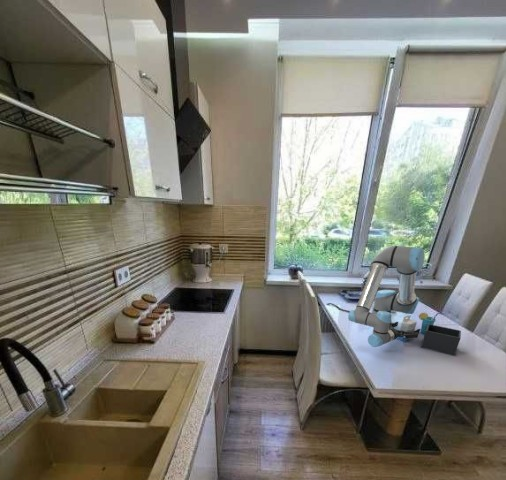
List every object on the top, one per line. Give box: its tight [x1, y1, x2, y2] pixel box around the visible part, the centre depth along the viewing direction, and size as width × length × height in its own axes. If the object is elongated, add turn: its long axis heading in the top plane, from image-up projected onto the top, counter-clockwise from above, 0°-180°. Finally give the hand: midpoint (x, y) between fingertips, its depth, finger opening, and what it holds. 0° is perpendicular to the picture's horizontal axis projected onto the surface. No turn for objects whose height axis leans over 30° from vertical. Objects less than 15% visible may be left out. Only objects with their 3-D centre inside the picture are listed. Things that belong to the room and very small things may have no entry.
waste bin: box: [420, 324, 462, 356], centre depth 161 cm, size 17×13×11 cm
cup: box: [418, 312, 445, 336], centre depth 179 cm, size 14×8×15 cm, turn 84°
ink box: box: [397, 314, 418, 342], centre depth 170 cm, size 8×5×15 cm, turn 123°
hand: (408, 327), depth 170 cm, fingers open, 13 cm apart
